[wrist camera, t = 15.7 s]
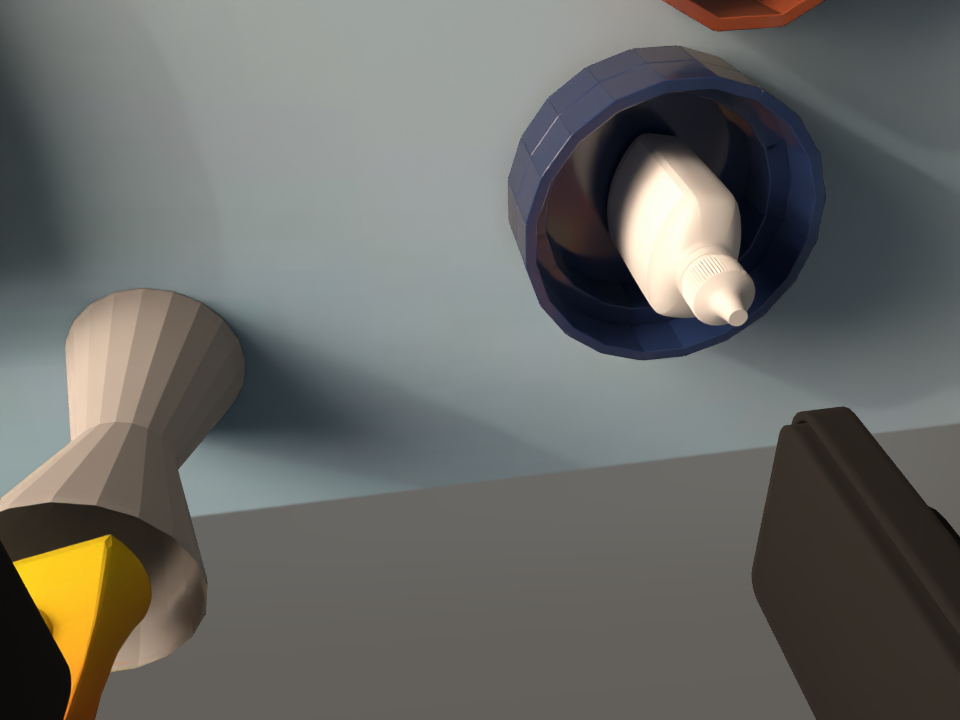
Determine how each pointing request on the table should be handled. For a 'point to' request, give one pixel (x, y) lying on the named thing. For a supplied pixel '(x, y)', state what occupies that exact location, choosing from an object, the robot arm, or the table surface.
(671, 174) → the eye dropper bottle
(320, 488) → the table surface
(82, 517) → the lava lamp
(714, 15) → the brown round container
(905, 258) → the table surface
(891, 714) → the robot arm
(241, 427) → the table surface
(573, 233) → the bowl
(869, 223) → the table surface
